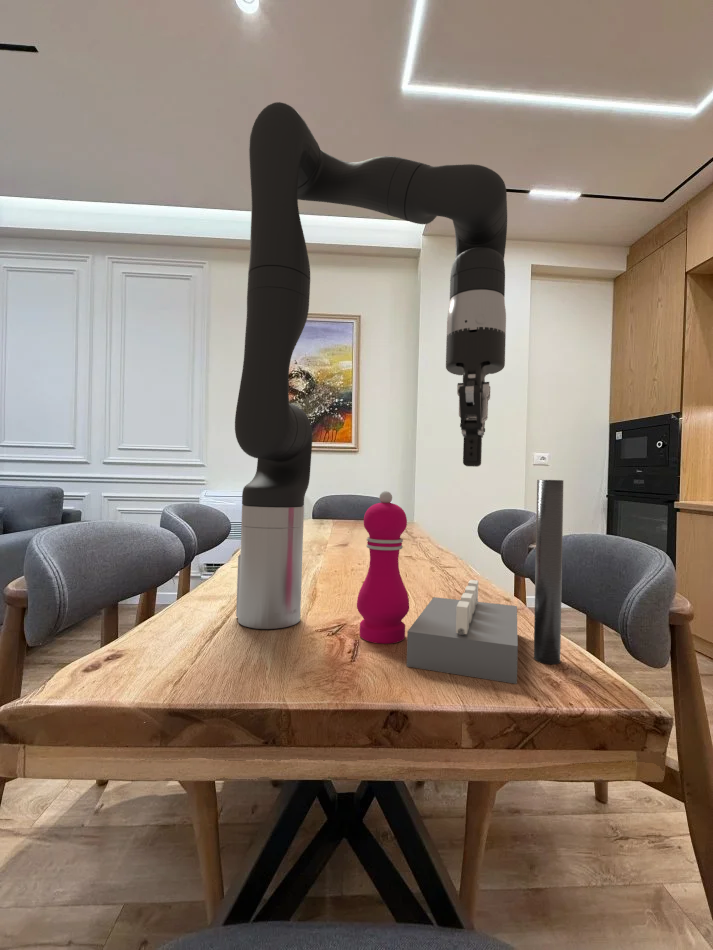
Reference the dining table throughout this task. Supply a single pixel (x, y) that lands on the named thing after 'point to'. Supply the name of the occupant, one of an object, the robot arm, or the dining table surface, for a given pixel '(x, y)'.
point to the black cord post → (548, 571)
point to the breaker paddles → (466, 607)
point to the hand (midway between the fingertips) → (472, 465)
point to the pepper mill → (383, 575)
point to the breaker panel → (465, 641)
